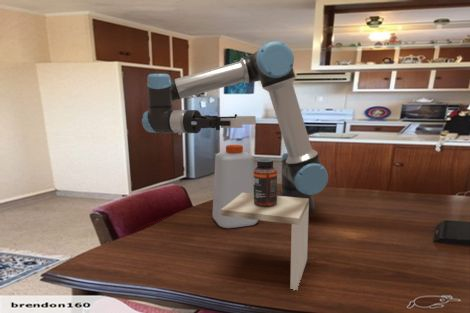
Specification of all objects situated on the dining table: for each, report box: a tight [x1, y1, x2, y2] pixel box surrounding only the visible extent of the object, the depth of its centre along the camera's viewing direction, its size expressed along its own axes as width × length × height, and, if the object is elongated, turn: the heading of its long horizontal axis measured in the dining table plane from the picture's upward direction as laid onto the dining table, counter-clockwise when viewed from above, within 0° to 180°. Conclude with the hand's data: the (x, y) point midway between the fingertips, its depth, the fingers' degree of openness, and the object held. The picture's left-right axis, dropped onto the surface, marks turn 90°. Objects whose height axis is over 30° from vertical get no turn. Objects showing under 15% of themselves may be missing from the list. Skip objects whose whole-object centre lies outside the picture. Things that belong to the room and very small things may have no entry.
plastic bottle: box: [212, 144, 259, 229], centre depth 118 cm, size 15×15×28 cm
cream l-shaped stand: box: [221, 193, 310, 291], centre depth 84 cm, size 19×16×18 cm
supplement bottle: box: [254, 158, 278, 206], centre depth 82 cm, size 6×6×11 cm
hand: (249, 121), depth 100 cm, fingers open, 13 cm apart
